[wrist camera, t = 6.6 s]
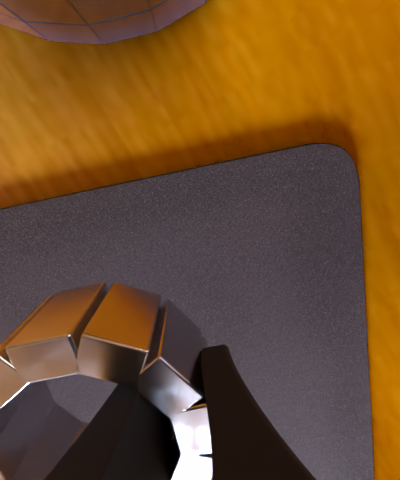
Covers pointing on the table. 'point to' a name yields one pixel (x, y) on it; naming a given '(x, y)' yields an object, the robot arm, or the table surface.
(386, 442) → the table surface
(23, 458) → the steel ring
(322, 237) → the mouse pad
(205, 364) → the robot arm
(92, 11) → the bowl
